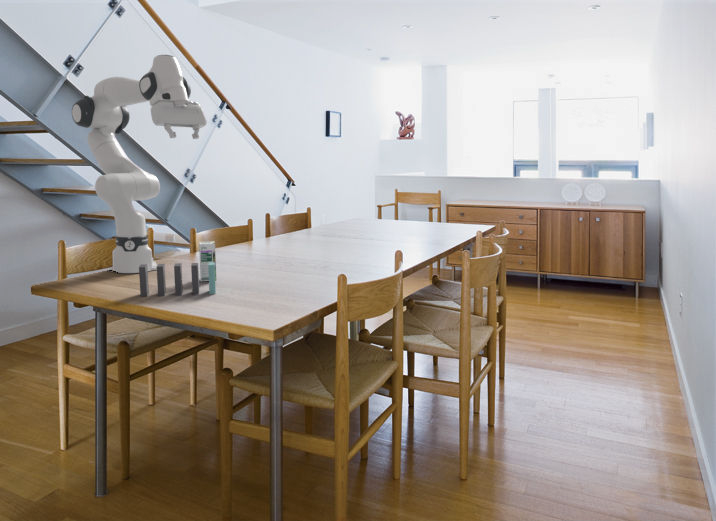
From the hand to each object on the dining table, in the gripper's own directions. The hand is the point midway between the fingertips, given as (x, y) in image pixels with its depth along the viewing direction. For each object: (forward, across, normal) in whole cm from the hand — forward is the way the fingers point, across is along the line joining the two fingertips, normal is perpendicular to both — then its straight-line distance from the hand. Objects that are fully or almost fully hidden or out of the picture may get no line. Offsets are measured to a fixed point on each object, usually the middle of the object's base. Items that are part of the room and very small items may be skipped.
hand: (184, 138), depth 200 cm
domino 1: (+50, +21, -14) cm, 56 cm away
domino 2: (+51, +16, -11) cm, 55 cm away
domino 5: (+55, +4, -1) cm, 55 cm away
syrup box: (+50, -8, -16) cm, 53 cm away
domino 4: (+54, +8, -4) cm, 54 cm away
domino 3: (+52, +12, -8) cm, 54 cm away
